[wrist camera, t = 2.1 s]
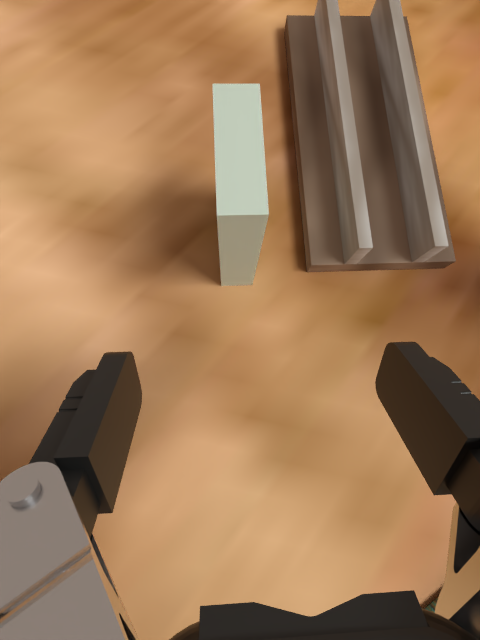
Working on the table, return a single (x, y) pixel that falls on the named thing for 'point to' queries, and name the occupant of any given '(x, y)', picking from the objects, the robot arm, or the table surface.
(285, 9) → the table surface
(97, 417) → the robot arm
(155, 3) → the table surface
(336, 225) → the board
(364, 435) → the table surface
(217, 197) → the door panel
